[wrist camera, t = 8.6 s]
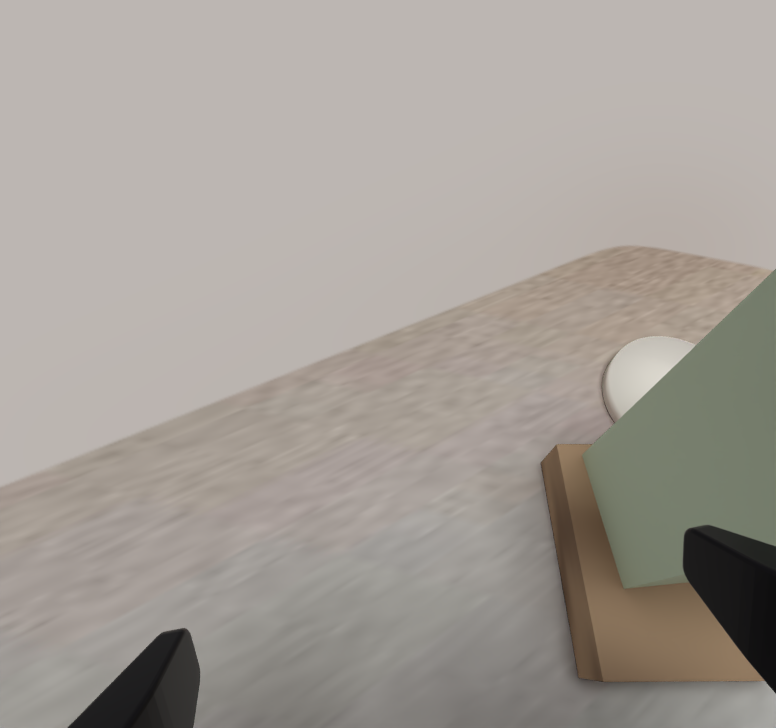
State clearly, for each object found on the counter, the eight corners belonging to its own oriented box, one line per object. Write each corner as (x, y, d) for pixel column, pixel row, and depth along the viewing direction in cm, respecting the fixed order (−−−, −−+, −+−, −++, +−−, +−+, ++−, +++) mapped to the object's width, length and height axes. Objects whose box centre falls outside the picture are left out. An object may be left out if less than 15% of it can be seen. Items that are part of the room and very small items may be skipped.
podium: (762, 676, 19) (810, 680, 17) (578, 677, 19) (603, 681, 17) (689, 462, 24) (720, 444, 22) (541, 462, 24) (556, 444, 22)
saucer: (758, 462, 24) (772, 455, 23) (620, 462, 24) (629, 455, 23) (709, 345, 27) (720, 336, 27) (589, 345, 27) (596, 335, 26)
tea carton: (757, 575, 19) (1255, 481, 8) (623, 589, 19) (955, 509, 8) (699, 445, 22) (1010, 246, 11) (581, 454, 21) (783, 260, 11)
